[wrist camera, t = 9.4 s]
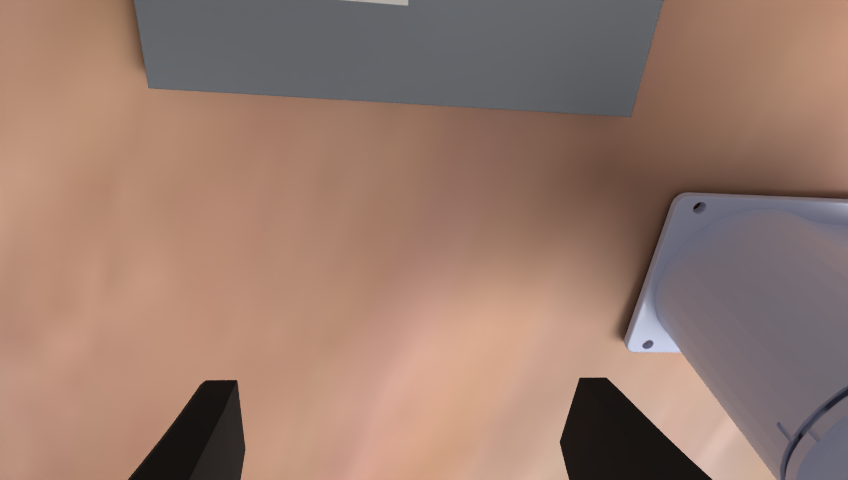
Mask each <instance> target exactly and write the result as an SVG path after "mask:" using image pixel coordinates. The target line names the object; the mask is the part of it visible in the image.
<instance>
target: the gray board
mask: <svg viewBox="0 0 848 480" xmlns="http://www.w3.org/2000/svg"><path fill="white" fill-rule="evenodd" d="M662 3H663V0H134V5H135V11H136V17H137V23H138V28H139V34H140V40H141V46H142V52H143V58H144V64H145V70H146V76H147V82H148V88H153V89H170V90H187V91H203V92H220V93H237V94H254V95H270V96H287V97H304V98H321V99H337V100H354V101H371V102H388V103H404V104H421V105H438V106H455V107H471V108H488V109H505V110H522V111H538V112H555V113H572V114H588V115H605V116H622V117H631V114H632V110H633V106H634V103H635V99H636V96H637V92H638V89H639V85H640V81H641V78H642V74H643V71H644V67H645V64H646V60H647V57H648V53H649V49H650V46H651V42H652V39H653V35H654V32H655V28H656V25H657V21H658V17H659V14H660V10H661V7H662Z"/></svg>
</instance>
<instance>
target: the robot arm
mask: <svg viewBox="0 0 848 480" xmlns="http://www.w3.org/2000/svg"><path fill="white" fill-rule="evenodd" d="M699 202H701V204H700V205H699V207H698V208H696V209H693V207H694V206H695V205H696V204H697V203H699ZM645 341H647V342H646V343H644V342H645ZM624 344H625V346H626V348H627V349H628V350H629V351H630V352H682V354H683V355H684V356H685V358H686V359H687V360H688V362H689V363H690V364H691V366H692V367H693V368H694V370H695V371H696V372H697V374H698V375H699V376H700V378H701V379H702V380H703V382H704V383H705V384H706V386H707V387H708V388H709V390H710V391H711V392H712V394H713V395H714V396H715V398H716V399H717V400H718V402H719V403H720V404H721V406H722V407H723V408H724V410H725V411H726V412H727V414H728V415H729V416H730V418H731V419H732V420H733V422H734V423H735V424H736V426H737V427H738V428H739V430H740V431H741V432H742V434H743V435H744V436H745V438H746V439H747V440H748V442H749V443H750V445H751V446H752V447H753V449H754V450H755V451H756V453H757V454H758V455H759V457H760V458H761V459H762V461H763V462H764V463H765V465H766V466H767V467H768V469H769V470H770V471H771V473H772V474H773V475H774V477H775V478H776V479H777V480H848V199H834V198H811V197H787V196H763V195H739V194H715V193H692V192H686V193H682V194H680V195H678V196H677V197H676V198H674V200H673V202H672V204H671V206H670V209H669V212H668V215H667V218H666V221H665V224H664V227H663V229H662V232H661V235H660V238H659V241H658V244H657V247H656V250H655V252H654V255H653V258H652V261H651V264H650V267H649V270H648V273H647V275H646V278H645V281H644V284H643V287H642V290H641V293H640V296H639V298H638V301H637V304H636V307H635V310H634V313H633V316H632V319H631V321H630V324H629V327H628V330H627V333H626V336H625V339H624ZM560 445H561V449H562V453H563V457H564V461H565V466H566V469H567V473H568V477H569V480H712V479H711V478H710V477H709V476H708V475H707V474H706V473H704V472H703V471H702V470H701V469H700V468H699V467H698V466H697V465H696V464H695V463H693V462H692V461H691V460H690V459H689V458H688V457H687V456H686V455H685V454H684V453H683V452H682V451H681V450H680V449H679V448H678V447H677V446H675V445H674V444H673V443H672V442H671V441H670V440H669V439H668V438H667V437H666V436H665V435H664V434H663V433H662V432H661V431H660V430H659V429H658V428H657V427H656V426H655V425H654V424H653V423H652V422H651V421H650V420H649V419H648V418H647V417H646V416H645V415H644V414H643V413H642V412H641V411H640V410H639V409H638V408H637V407H636V406H635V405H634V404H633V403H632V402H631V401H630V400H629V399H628V398H627V397H626V396H625V395H624V394H623V393H622V392H621V391H620V390H619V389H618V388H617V387H616V386H615V385H614V384H612V383H611V382H610V381H609V380H608V379H607V378H579V382H578V385H577V388H576V391H575V395H574V398H573V401H572V404H571V407H570V411H569V414H568V417H567V420H566V424H565V427H564V430H563V433H562V437H561V440H560ZM244 454H245V442H244V434H243V425H242V417H241V408H240V400H239V391H238V383H237V380H206V381H204V382H203V383H202V384H201V385H200V386H199V388H198V389H197V390H196V392H195V393H194V395H193V396H192V398H191V399H190V400H189V402H188V403H187V405H186V406H185V407H184V409H183V410H182V412H181V413H180V414H179V416H178V417H177V418H176V420H175V421H174V422H173V424H172V425H171V426H170V428H169V429H168V430H167V432H166V433H165V434H164V436H163V437H162V438H161V439H160V441H159V442H158V443H157V444H156V446H155V447H154V448H153V449H152V451H151V452H150V453H149V454H148V456H147V457H146V458H145V459H144V461H143V462H142V463H141V464H140V466H139V467H138V468H137V469H136V471H135V472H134V473H133V474H132V475H131V477H130V478H129V479H128V480H240V479H241V473H242V467H243V461H244Z"/></svg>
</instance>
